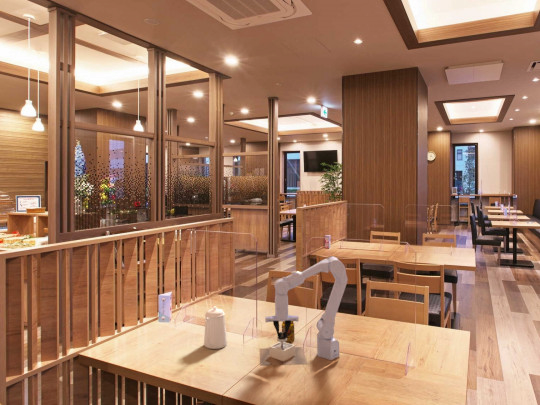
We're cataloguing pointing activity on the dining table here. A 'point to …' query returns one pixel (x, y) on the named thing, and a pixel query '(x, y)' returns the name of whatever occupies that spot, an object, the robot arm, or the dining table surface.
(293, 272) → the robot arm
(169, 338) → the dining table surface
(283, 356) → the press housing
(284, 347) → the plunger
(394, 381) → the dining table surface
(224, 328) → the coffeepot
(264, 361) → the board
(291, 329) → the condiment
